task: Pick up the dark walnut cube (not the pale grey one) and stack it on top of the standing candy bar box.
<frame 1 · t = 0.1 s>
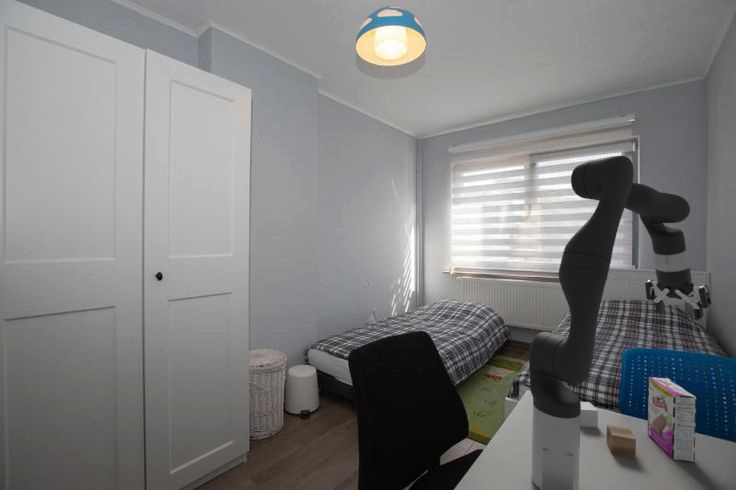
hand: (679, 315, 103), 31 cm above the table, tool tilted 20°, fingers open, 8 cm apart
grey block: (584, 422, 103), on the table
walnut block: (620, 450, 90), on the table
candy bar box: (669, 448, 91), on the table
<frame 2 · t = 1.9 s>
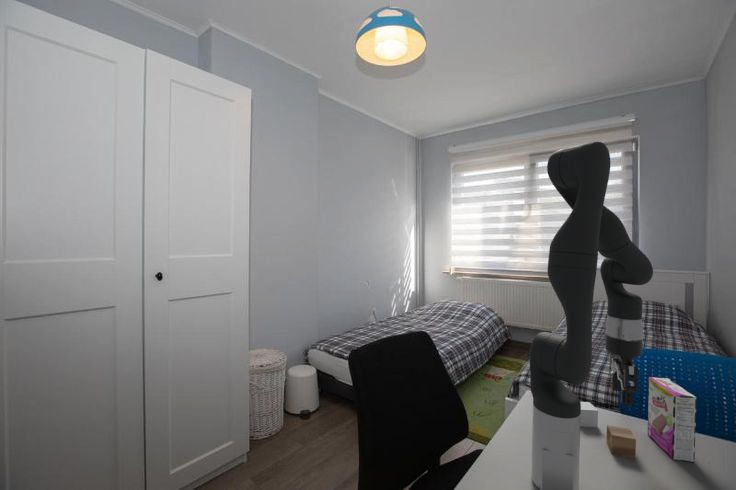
hand: (621, 397, 89), 14 cm above the table, tool pointing down, fingers open, 8 cm apart
nothing on the table moved.
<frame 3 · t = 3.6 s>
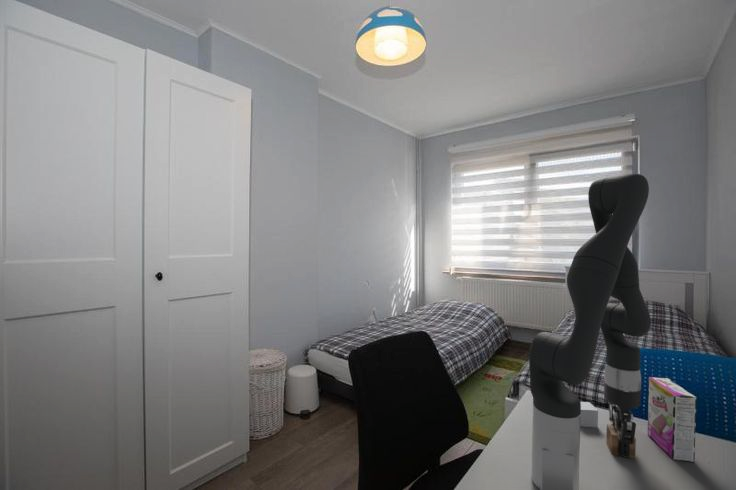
hand: (620, 448, 90), 0 cm above the table, tool pointing down, fingers closed on walnut block, 5 cm apart
walnut block: (620, 450, 90), on the table, touching gripper
everything else where it was.
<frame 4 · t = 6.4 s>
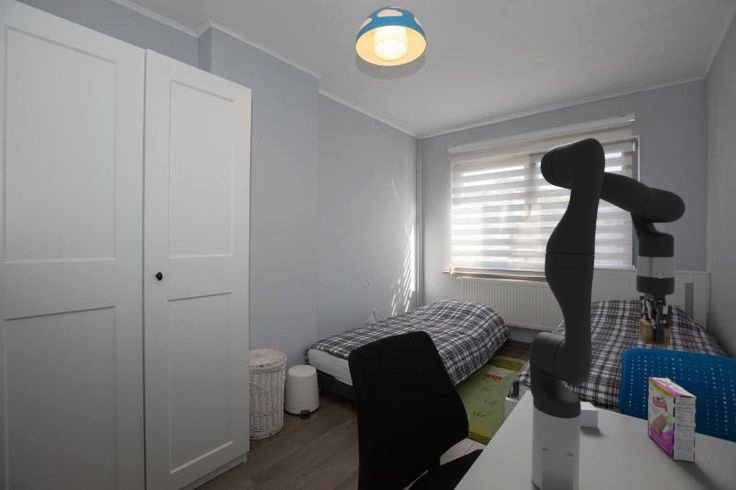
hand: (653, 339, 90), 28 cm above the table, tool pointing down, fingers closed on walnut block, 5 cm apart
walnut block: (653, 341, 90), point 28 cm above the table, touching gripper
everything else where it was.
when the fingers open (17 cm above the table, at t = 9.1 s): walnut block stays where it is, resting on candy bar box.
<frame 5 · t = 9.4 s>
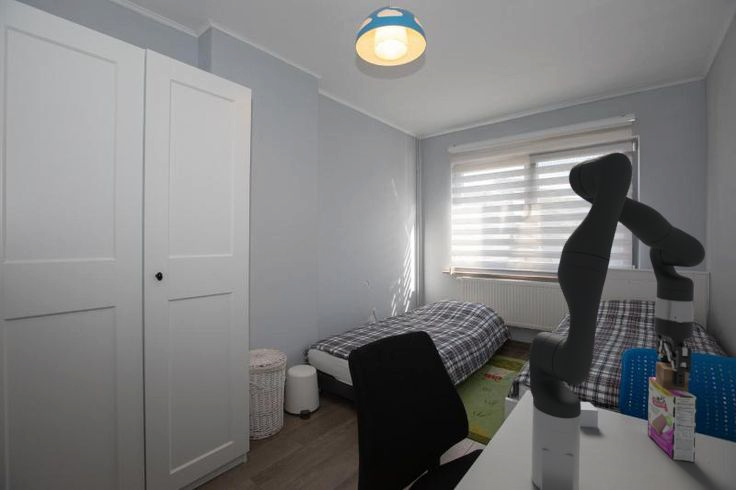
hand: (671, 379, 90), 18 cm above the table, tool pointing down, fingers open, 7 cm apart
walnut block: (671, 385, 90), point 16 cm above the table, touching candy bar box
candy bar box: (669, 448, 91), on the table, touching walnut block
everything else where it was.
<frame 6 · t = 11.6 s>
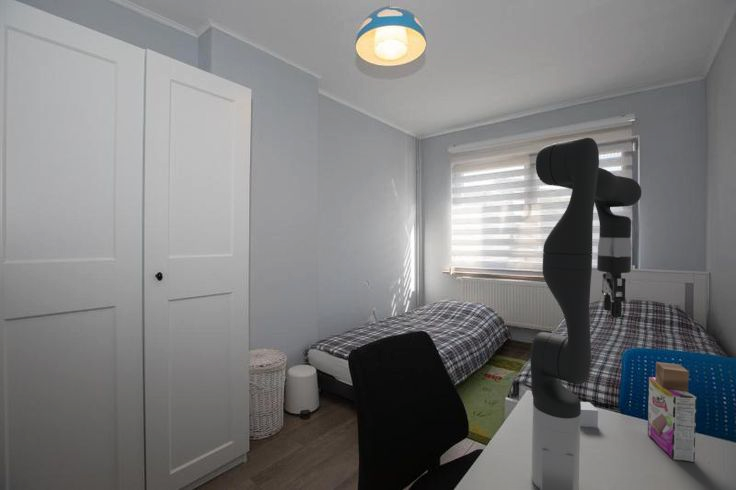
hand: (612, 313, 96), 34 cm above the table, tool pointing down, fingers open, 8 cm apart
nothing on the table moved.
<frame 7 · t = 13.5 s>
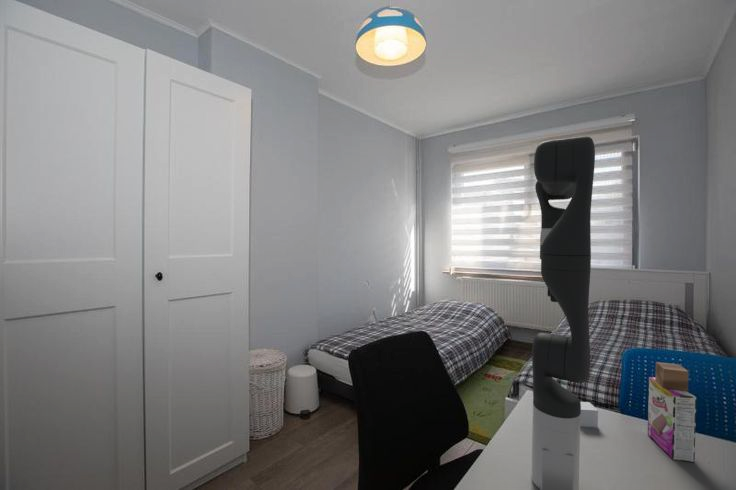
hand: (553, 299, 103), 36 cm above the table, tool pointing down, fingers open, 8 cm apart
nothing on the table moved.
at the end: walnut block point 16.4 cm above the table; walnut block 0.1 cm from the candy bar box (horizontally); walnut block tilted 0° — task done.
